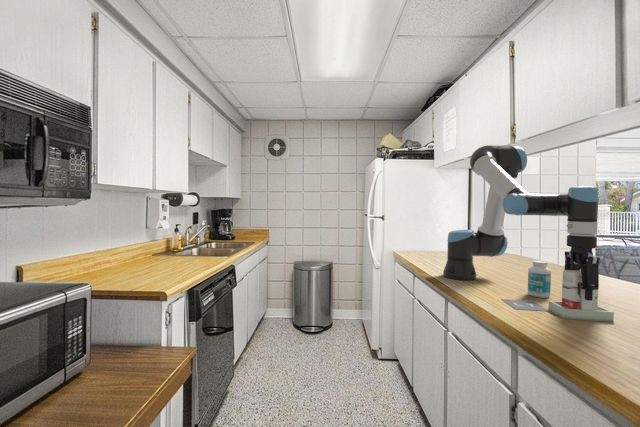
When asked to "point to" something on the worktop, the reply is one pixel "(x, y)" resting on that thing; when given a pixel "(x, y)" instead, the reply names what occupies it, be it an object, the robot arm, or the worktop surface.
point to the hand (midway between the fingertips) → (579, 306)
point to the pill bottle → (539, 280)
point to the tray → (581, 313)
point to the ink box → (575, 290)
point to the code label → (525, 305)
